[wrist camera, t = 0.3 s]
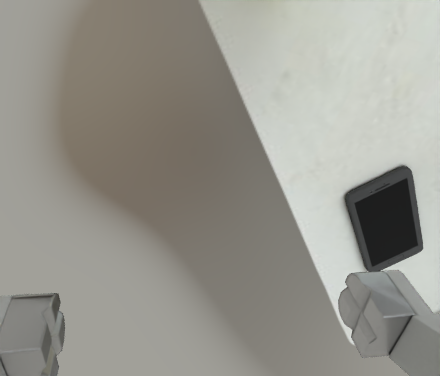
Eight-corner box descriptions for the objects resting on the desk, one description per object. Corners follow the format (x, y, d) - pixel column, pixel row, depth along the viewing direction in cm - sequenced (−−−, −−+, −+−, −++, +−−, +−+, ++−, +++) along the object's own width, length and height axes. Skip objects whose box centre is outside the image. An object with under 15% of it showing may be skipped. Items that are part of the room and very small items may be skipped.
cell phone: (366, 272, 47) (369, 276, 46) (342, 193, 39) (346, 197, 39) (420, 246, 47) (424, 251, 46) (407, 162, 39) (412, 166, 38)
